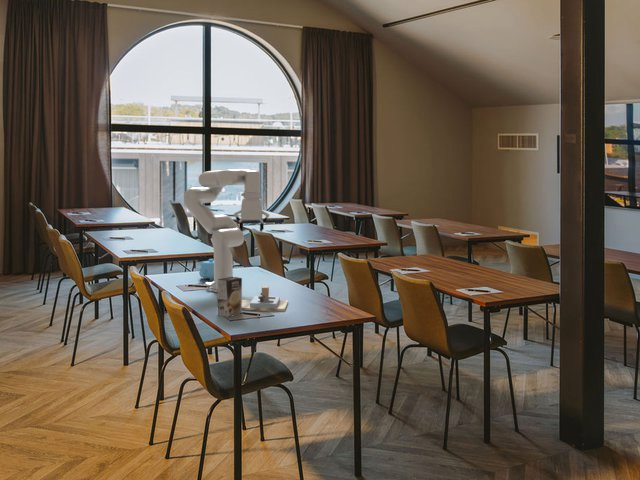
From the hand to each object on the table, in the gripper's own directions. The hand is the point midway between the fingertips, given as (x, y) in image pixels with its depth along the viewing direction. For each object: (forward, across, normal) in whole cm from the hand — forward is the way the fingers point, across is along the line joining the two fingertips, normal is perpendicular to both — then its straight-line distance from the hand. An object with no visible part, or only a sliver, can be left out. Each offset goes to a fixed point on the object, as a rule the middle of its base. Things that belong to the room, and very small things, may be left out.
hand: (251, 230), depth 345 cm
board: (+32, +9, -24) cm, 41 cm away
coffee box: (+32, -3, -41) cm, 52 cm away
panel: (+31, +10, -23) cm, 40 cm away
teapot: (+34, -28, +44) cm, 62 cm away
